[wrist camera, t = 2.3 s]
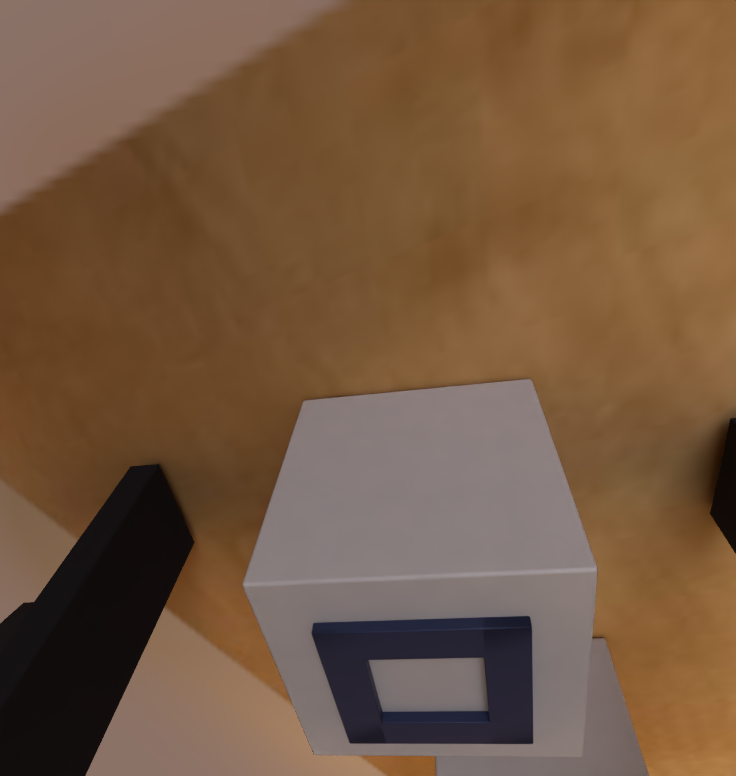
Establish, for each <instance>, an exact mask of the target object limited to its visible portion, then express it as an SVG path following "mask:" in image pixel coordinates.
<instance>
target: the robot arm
mask: <svg viewBox="0 0 736 776" xmlns="http://www.w3.org/2000/svg"><path fill="white" fill-rule="evenodd" d="M710 514H711V516H712V517H713V519H714V521H715V522H716V524H717V525H718V527H719V528H720V530H721V532H722V533H723V535H724V536H725V538H726V539H727V541H728V542H729V544H730V546H731V547H732V549H733V550H734V552H735V553H736V418H730V423H729V427H728V432H727V437H726V441H725V446H724V451H723V456H722V460H721V465H720V470H719V474H718V479H717V484H716V488H715V493H714V498H713V502H712V507H711V512H710ZM193 544H194V541H193V538H192V536H191V534H190V532H189V530H188V527H187V525H186V523H185V521H184V519H183V516H182V514H181V512H180V510H179V508H178V505H177V503H176V501H175V499H174V497H173V494H172V492H171V490H170V488H169V486H168V483H167V481H166V479H165V477H164V475H163V472H162V470H161V468H160V466H159V464H156V465H143V466H131V467H130V468H129V470H128V471H127V472H126V474H125V475H124V477H123V478H122V479H121V481H120V482H119V484H118V485H117V486H116V488H115V489H114V491H113V492H112V494H111V495H110V496H109V498H108V499H107V501H106V502H105V503H104V505H103V506H102V508H101V509H100V510H99V512H98V513H97V515H96V516H95V517H94V519H93V520H92V522H91V523H90V524H89V526H88V527H87V529H86V530H85V531H84V533H83V534H82V536H81V537H80V538H79V540H78V541H77V543H76V544H75V545H74V547H73V548H72V550H71V551H70V553H69V554H68V555H67V557H66V558H65V560H64V561H63V562H62V564H61V565H60V567H59V568H58V569H57V571H56V572H55V574H54V575H53V577H52V578H51V579H50V581H49V582H48V584H47V585H46V586H45V588H44V589H43V590H42V592H41V593H40V595H39V596H38V598H37V599H36V600H35V602H30V603H23V604H22V605H21V606H20V607H18V608H17V609H16V610H15V611H14V612H13V613H12V614H11V615H9V616H8V617H7V618H6V619H5V620H4V621H3V622H2V623H1V624H0V776H85V775H86V773H87V771H88V769H89V767H90V764H91V762H92V760H93V758H94V756H95V754H96V752H97V749H98V747H99V745H100V743H101V741H102V738H103V737H104V734H105V732H106V730H107V728H108V726H109V724H110V722H111V720H112V717H113V715H114V713H115V711H116V709H117V707H118V705H119V702H120V700H121V698H122V696H123V694H124V692H125V689H126V687H127V685H128V683H129V681H130V679H131V677H132V675H133V673H134V670H135V668H136V666H137V664H138V662H139V660H140V657H141V655H142V653H143V651H144V649H145V647H146V645H147V643H148V640H149V638H150V636H151V634H152V632H153V630H154V628H155V626H156V623H157V621H158V619H159V617H160V615H161V612H162V611H163V608H164V606H165V604H166V602H167V600H168V598H169V596H170V593H171V591H172V589H173V587H174V585H175V583H176V581H177V578H178V576H179V574H180V572H181V570H182V568H183V566H184V564H185V561H186V559H187V557H188V555H189V553H190V551H191V549H192V546H193Z"/></svg>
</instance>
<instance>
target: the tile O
mask: <svg viewBox="0 0 736 776" xmlns="http://www.w3.org/2000/svg"><path fill="white" fill-rule="evenodd" d="M597 573H598V568H597V565H596V562H595V559H594V557H593V554H592V551H591V548H590V545H589V542H588V539H587V536H586V534H585V531H584V528H583V525H582V522H581V519H580V516H579V513H578V511H577V508H576V505H575V502H574V499H573V496H572V493H571V491H570V488H569V485H568V482H567V479H566V476H565V473H564V470H563V468H562V465H561V462H560V459H559V456H558V453H557V450H556V447H555V445H554V442H553V439H552V436H551V433H550V430H549V427H548V425H547V422H546V419H545V416H544V413H543V410H542V407H541V404H540V402H539V399H538V396H537V393H536V390H535V387H534V384H533V381H532V380H531V379H523V380H513V381H502V382H492V383H482V384H471V385H461V386H450V387H440V388H430V389H419V390H409V391H399V392H388V393H378V394H367V395H357V396H347V397H336V398H326V399H315V400H305V401H303V403H302V406H301V409H300V412H299V415H298V418H297V421H296V424H295V427H294V430H293V433H292V436H291V439H290V442H289V445H288V448H287V451H286V454H285V457H284V460H283V463H282V466H281V469H280V472H279V475H278V478H277V481H276V484H275V487H274V490H273V493H272V496H271V500H270V503H269V506H268V509H267V512H266V515H265V518H264V521H263V524H262V527H261V530H260V533H259V536H258V539H257V542H256V545H255V548H254V551H253V554H252V557H251V560H250V563H249V566H248V569H247V572H246V575H245V578H244V581H243V588H244V591H245V593H246V595H247V598H248V600H249V603H250V605H251V607H252V610H253V612H254V614H255V617H256V619H257V622H258V624H259V626H260V629H261V631H262V633H263V636H264V638H265V640H266V643H267V645H268V648H269V650H270V652H271V655H272V657H273V659H274V662H275V664H276V667H277V669H278V671H279V674H280V676H281V678H282V681H283V683H284V685H285V688H286V690H287V693H288V695H289V697H290V700H291V702H292V704H293V707H294V709H295V712H296V714H297V716H298V719H299V721H300V723H301V726H302V728H303V730H304V733H305V735H306V738H307V740H308V742H309V745H310V747H311V749H312V752H313V754H314V755H366V756H518V757H581V756H583V746H584V734H585V722H586V709H587V697H588V685H589V672H590V660H591V648H592V635H593V623H594V610H595V598H596V586H597Z"/></svg>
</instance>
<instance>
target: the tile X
mask: <svg viewBox="0 0 736 776" xmlns="http://www.w3.org/2000/svg"><path fill="white" fill-rule="evenodd" d="M435 771H436V776H649V774H648V771H647V768H646V764H645V761H644V758H643V755H642V752H641V749H640V746H639V742H638V739H637V736H636V733H635V730H634V727H633V724H632V721H631V717H630V714H629V711H628V708H627V705H626V702H625V699H624V696H623V692H622V689H621V686H620V683H619V680H618V677H617V674H616V671H615V667H614V664H613V661H612V658H611V655H610V652H609V649H608V645H607V642H606V640H605V639H604V638H592V648H591V660H590V672H589V685H588V697H587V709H586V722H585V734H584V746H583V756H581V757H518V756H435Z"/></svg>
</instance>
